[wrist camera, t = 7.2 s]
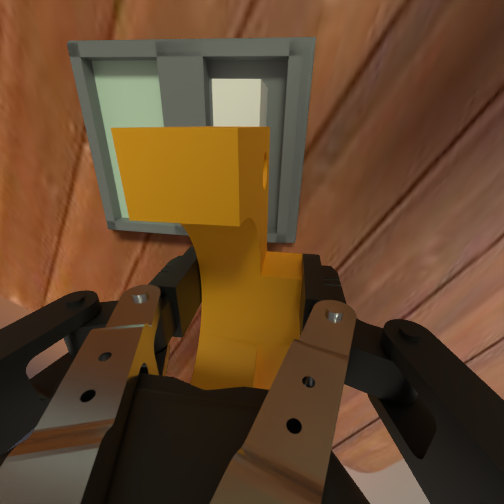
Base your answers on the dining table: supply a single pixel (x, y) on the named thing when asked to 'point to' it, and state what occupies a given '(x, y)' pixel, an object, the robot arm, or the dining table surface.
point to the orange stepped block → (220, 241)
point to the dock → (198, 107)
